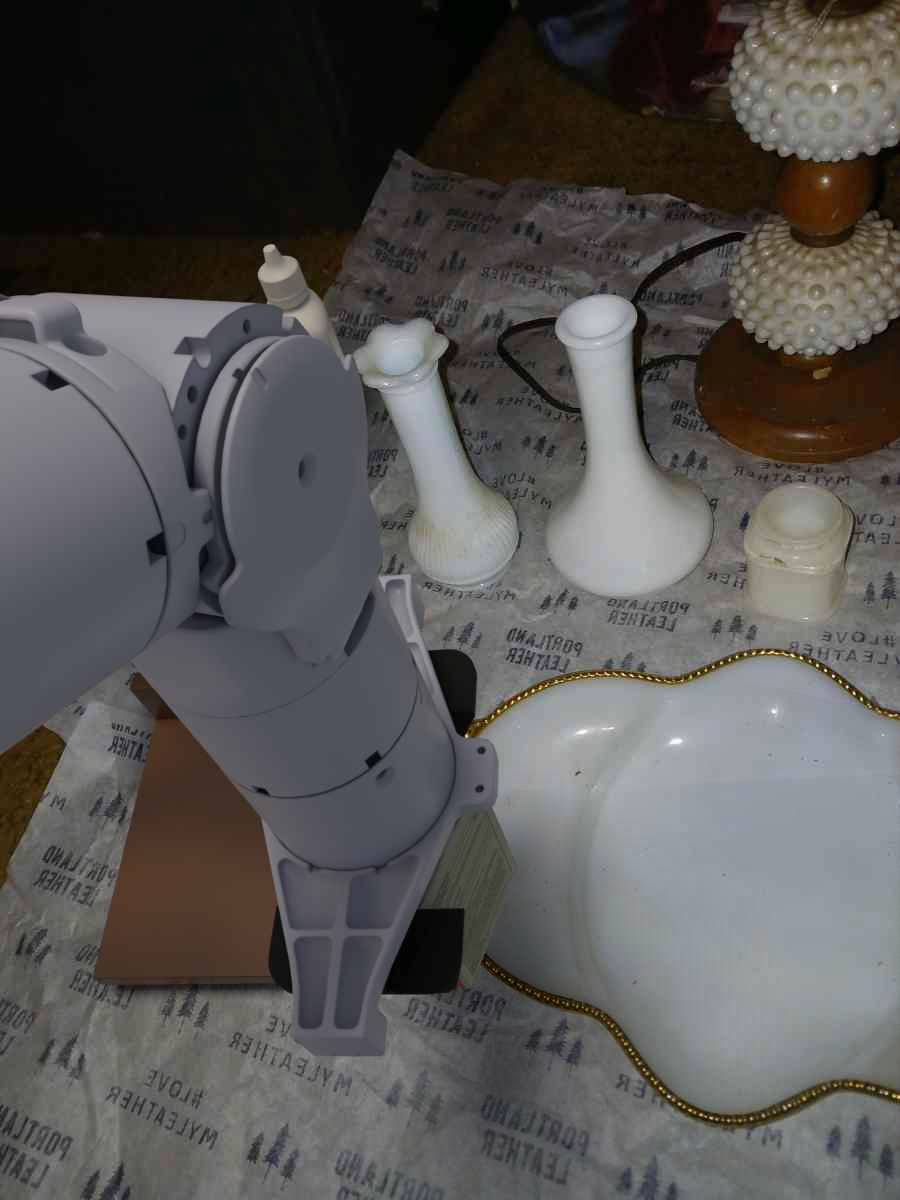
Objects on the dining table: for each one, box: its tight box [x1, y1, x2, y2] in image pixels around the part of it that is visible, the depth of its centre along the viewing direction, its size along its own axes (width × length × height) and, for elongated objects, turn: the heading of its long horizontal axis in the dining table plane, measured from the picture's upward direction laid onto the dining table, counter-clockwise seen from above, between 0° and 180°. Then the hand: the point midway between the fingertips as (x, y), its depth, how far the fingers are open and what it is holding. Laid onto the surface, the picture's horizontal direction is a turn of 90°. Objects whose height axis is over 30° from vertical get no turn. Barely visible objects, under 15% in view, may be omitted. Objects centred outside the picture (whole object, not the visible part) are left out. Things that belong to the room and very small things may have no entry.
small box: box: [417, 806, 517, 990], centre depth 37 cm, size 5×4×8 cm
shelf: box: [92, 672, 278, 986], centre depth 50 cm, size 14×12×5 cm
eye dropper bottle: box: [257, 243, 345, 365], centre depth 64 cm, size 4×6×12 cm
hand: (431, 891), depth 38 cm, fingers closed on small box, 6 cm apart
